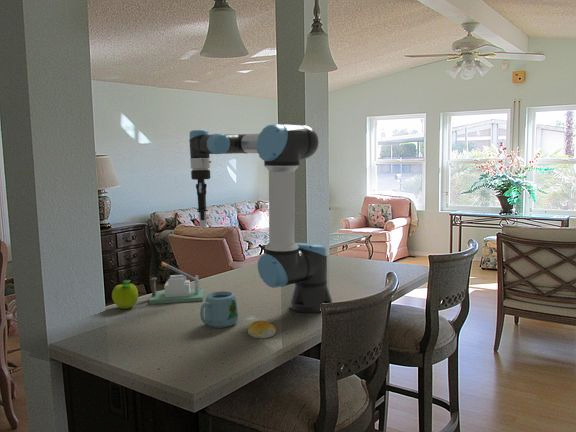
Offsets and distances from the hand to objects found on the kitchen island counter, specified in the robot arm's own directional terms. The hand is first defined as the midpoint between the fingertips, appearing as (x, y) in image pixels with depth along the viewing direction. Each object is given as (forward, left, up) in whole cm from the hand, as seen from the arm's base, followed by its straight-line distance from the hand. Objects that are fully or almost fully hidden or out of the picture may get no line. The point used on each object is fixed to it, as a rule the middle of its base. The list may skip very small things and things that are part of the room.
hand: (203, 227), depth 210 cm
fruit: (-18, +29, -27) cm, 43 cm away
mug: (-45, -6, -27) cm, 52 cm away
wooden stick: (-8, +10, -17) cm, 21 cm away
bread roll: (-55, -21, -27) cm, 64 cm away
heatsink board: (-8, +11, -26) cm, 29 cm away
